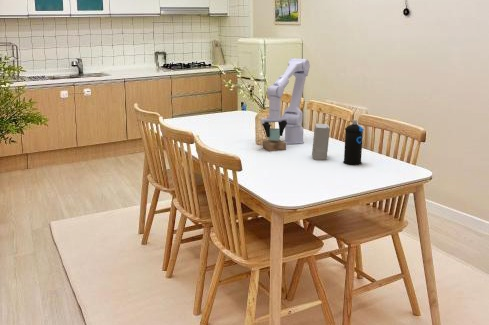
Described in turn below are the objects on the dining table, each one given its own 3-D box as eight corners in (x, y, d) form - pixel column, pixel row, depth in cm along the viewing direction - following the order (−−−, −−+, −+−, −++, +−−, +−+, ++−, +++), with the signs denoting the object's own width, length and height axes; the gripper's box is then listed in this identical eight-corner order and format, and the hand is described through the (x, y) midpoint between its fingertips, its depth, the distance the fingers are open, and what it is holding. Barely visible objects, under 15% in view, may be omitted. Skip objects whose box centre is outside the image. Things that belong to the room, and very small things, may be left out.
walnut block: (278, 146, 272) (279, 139, 271) (285, 150, 264) (286, 143, 263) (262, 148, 269) (262, 140, 268) (269, 152, 261) (269, 144, 260)
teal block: (280, 138, 267) (280, 128, 265) (278, 140, 262) (278, 130, 261) (270, 137, 268) (270, 128, 266) (268, 140, 263) (268, 130, 262)
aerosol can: (341, 164, 239) (343, 120, 233) (345, 159, 246) (347, 117, 241) (359, 166, 236) (362, 122, 230) (362, 161, 243) (365, 118, 238)
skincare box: (311, 155, 254) (312, 123, 249) (326, 155, 254) (328, 123, 249) (313, 160, 246) (314, 126, 241) (328, 160, 245) (330, 126, 241)
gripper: (283, 107, 267) (283, 133, 271) (258, 109, 262) (258, 136, 265) (290, 109, 261) (290, 136, 265) (264, 111, 255) (264, 138, 259)
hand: (274, 136), depth 265 cm, fingers closed on teal block, 7 cm apart
